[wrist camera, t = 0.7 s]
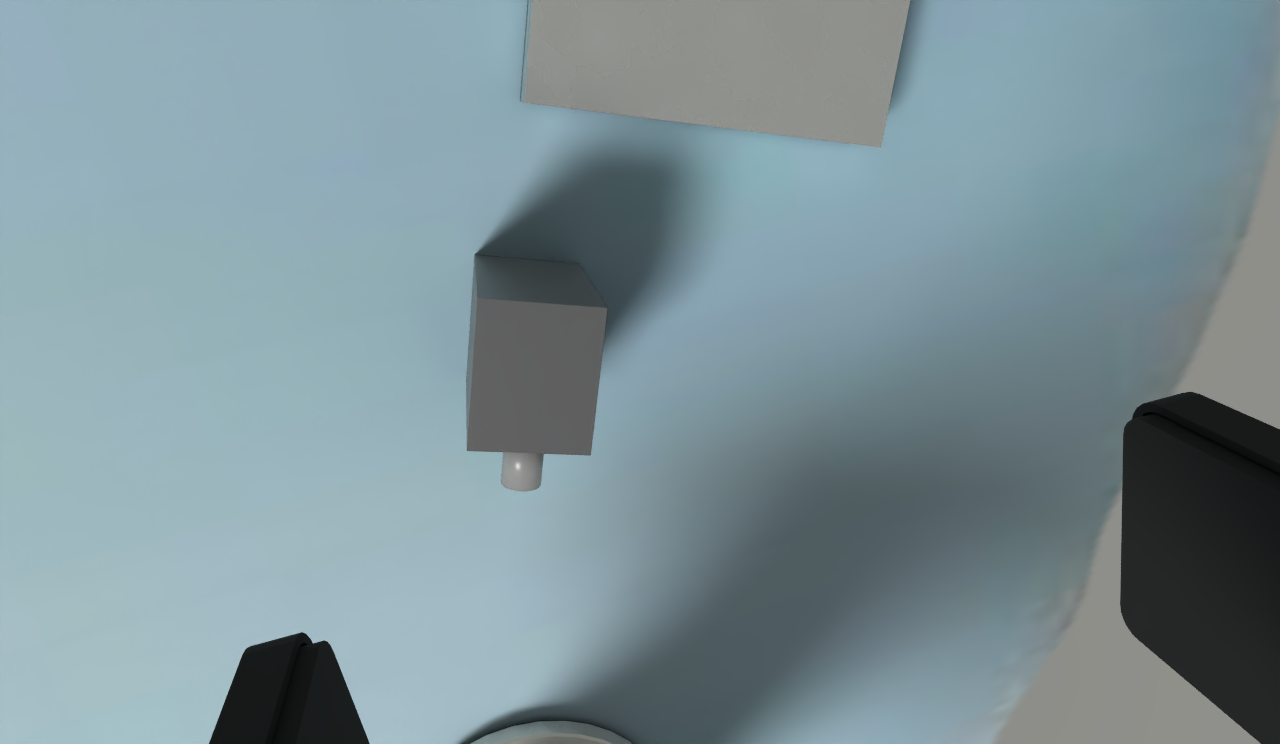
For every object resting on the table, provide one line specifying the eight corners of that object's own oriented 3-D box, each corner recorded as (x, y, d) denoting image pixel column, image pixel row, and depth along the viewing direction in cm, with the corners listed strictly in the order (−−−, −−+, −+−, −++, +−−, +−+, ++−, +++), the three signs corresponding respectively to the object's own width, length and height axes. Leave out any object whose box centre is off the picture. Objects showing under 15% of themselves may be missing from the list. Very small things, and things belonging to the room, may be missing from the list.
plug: (562, 431, 35) (584, 510, 29) (462, 427, 35) (462, 507, 28) (579, 263, 33) (607, 307, 27) (474, 254, 33) (477, 298, 26)
